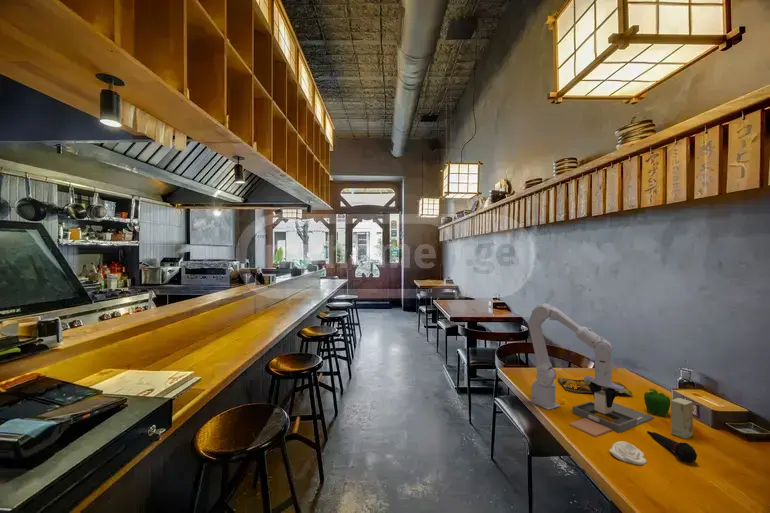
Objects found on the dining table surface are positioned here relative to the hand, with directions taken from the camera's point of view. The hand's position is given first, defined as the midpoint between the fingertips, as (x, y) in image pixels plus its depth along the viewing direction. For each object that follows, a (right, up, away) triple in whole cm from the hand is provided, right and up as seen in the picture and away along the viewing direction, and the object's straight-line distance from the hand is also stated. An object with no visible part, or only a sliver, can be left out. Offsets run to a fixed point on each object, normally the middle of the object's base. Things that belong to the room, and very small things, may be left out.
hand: (603, 404), depth 133 cm
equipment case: (+5, -6, +2) cm, 8 cm away
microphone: (+9, -6, -21) cm, 24 cm away
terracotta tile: (-10, -6, -7) cm, 13 cm away
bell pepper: (+26, -6, +5) cm, 27 cm away
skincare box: (+21, -6, -12) cm, 25 cm away
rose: (-9, -6, -25) cm, 28 cm away
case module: (0, -2, 0) cm, 2 cm away
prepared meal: (+16, -7, +32) cm, 36 cm away
